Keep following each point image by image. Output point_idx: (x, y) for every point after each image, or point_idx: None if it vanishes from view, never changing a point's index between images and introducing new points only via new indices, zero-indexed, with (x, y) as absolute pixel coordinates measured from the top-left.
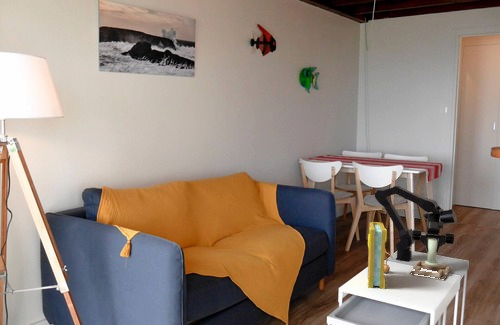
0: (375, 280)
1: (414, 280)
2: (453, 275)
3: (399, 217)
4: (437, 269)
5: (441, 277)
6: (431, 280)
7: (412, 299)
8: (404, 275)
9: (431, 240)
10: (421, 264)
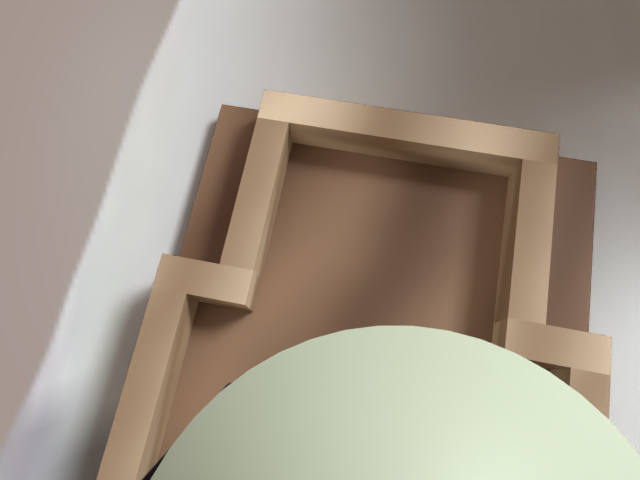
0: None
1: (510, 7)
2: (98, 347)
3: None
4: None
5: (248, 134)
6: (351, 69)
7: None
8: (634, 120)
9: (483, 414)
10: None
